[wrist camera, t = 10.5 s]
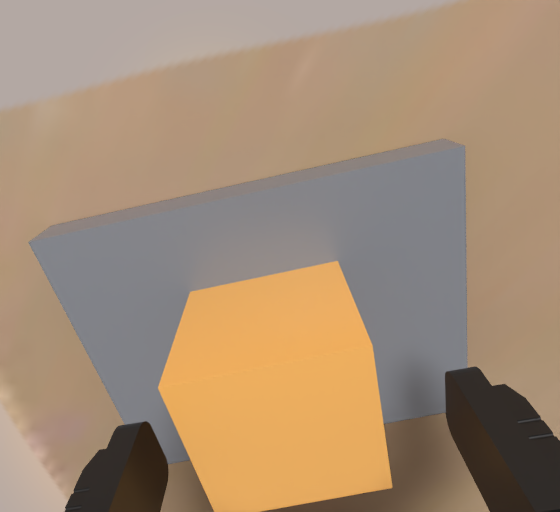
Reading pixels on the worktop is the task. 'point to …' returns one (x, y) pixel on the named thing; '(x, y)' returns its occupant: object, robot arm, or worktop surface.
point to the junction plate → (277, 271)
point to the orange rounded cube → (277, 392)
